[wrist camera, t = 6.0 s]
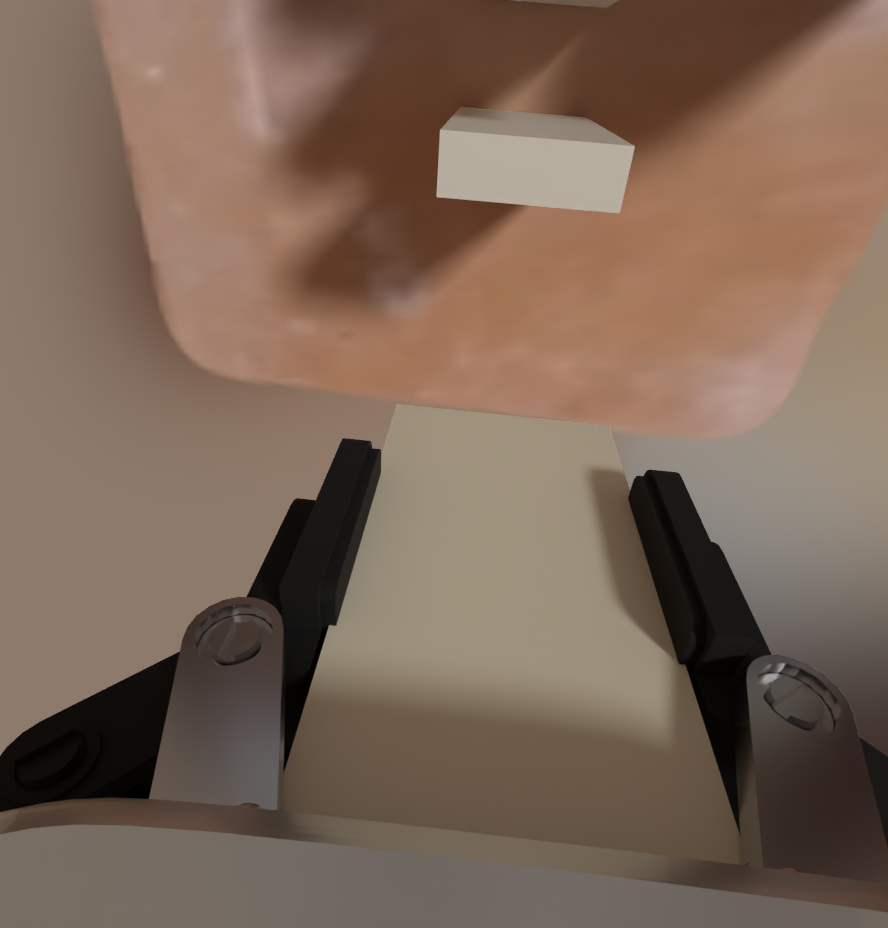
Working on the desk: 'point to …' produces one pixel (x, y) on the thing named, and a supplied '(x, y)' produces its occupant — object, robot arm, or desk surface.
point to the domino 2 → (508, 654)
